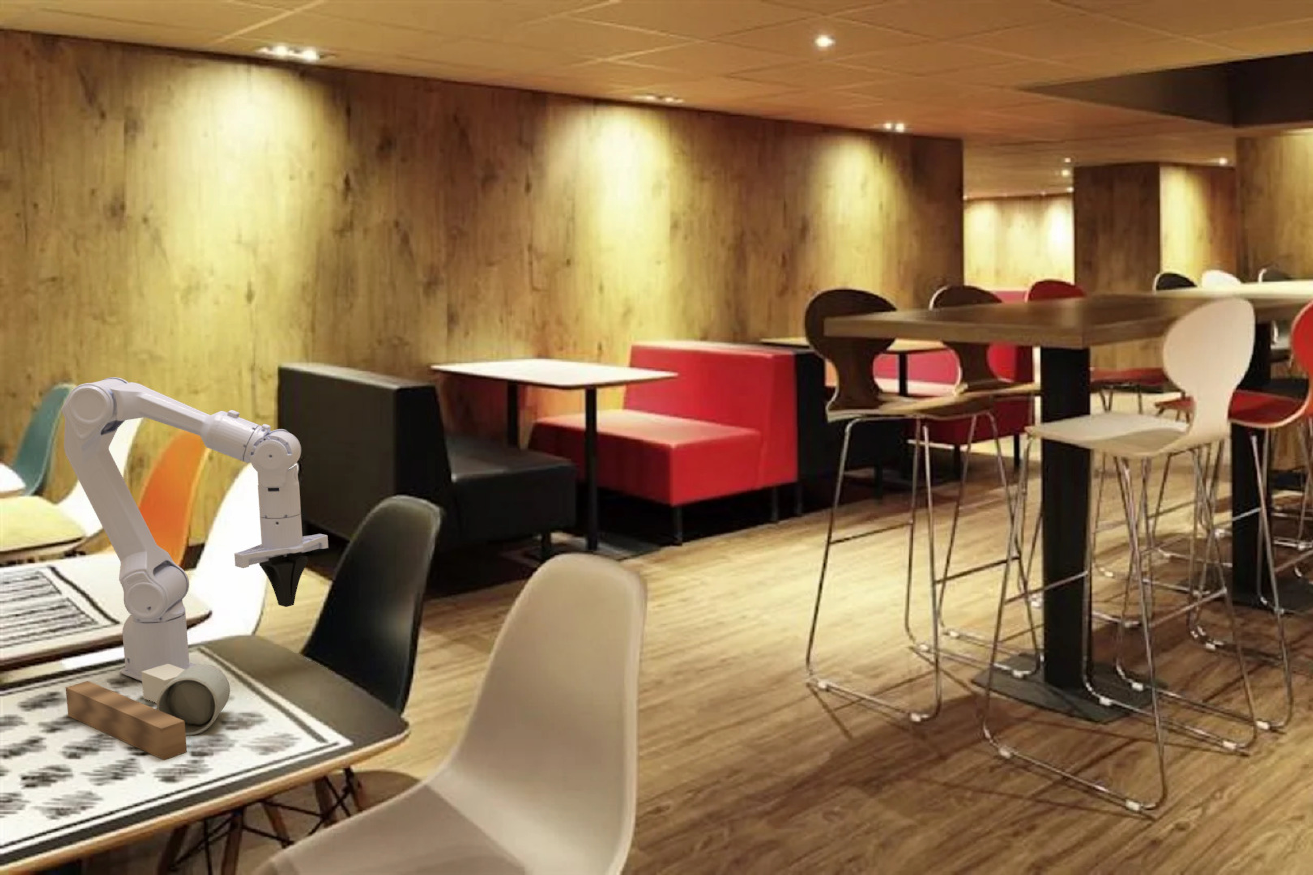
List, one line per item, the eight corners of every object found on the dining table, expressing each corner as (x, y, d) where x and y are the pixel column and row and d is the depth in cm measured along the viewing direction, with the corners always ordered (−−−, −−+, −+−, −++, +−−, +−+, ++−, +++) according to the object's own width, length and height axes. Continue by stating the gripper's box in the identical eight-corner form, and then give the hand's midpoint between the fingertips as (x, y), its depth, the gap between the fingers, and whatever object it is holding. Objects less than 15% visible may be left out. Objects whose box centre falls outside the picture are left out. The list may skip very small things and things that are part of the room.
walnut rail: (68, 715, 157) (65, 687, 156) (90, 709, 159) (87, 680, 158) (164, 760, 142) (161, 728, 142) (186, 751, 145) (184, 720, 144)
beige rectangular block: (143, 699, 163) (141, 671, 162) (170, 690, 166) (168, 663, 166) (167, 708, 159) (164, 680, 159) (193, 699, 163) (191, 672, 162)
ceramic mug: (235, 710, 158) (230, 655, 157) (220, 734, 150) (214, 676, 149) (153, 716, 157) (148, 661, 156) (134, 740, 149) (127, 682, 148)
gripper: (252, 527, 162) (258, 621, 164) (338, 509, 173) (343, 597, 175) (223, 521, 166) (230, 613, 168) (309, 503, 178) (314, 590, 180)
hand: (286, 604), depth 172 cm, fingers closed
